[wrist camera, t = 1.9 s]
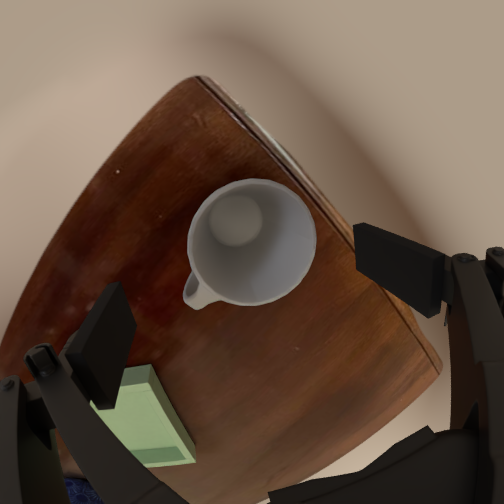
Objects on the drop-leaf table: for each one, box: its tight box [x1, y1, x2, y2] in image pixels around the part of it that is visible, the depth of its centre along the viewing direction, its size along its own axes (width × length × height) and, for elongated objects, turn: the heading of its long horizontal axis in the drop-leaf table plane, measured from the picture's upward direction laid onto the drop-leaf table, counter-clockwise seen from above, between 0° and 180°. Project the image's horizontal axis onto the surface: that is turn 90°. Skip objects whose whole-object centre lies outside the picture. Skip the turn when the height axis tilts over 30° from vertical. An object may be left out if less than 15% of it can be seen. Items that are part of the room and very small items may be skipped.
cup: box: [183, 178, 317, 310], centre depth 21 cm, size 8×10×8 cm
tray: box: [90, 364, 196, 467], centre depth 27 cm, size 15×13×3 cm
